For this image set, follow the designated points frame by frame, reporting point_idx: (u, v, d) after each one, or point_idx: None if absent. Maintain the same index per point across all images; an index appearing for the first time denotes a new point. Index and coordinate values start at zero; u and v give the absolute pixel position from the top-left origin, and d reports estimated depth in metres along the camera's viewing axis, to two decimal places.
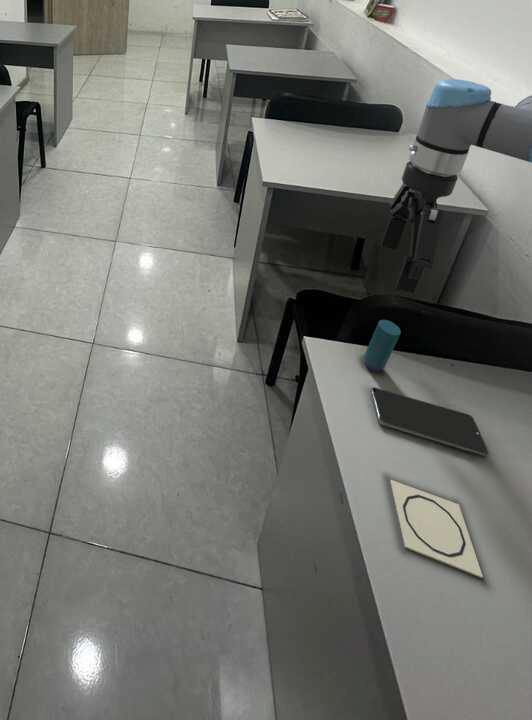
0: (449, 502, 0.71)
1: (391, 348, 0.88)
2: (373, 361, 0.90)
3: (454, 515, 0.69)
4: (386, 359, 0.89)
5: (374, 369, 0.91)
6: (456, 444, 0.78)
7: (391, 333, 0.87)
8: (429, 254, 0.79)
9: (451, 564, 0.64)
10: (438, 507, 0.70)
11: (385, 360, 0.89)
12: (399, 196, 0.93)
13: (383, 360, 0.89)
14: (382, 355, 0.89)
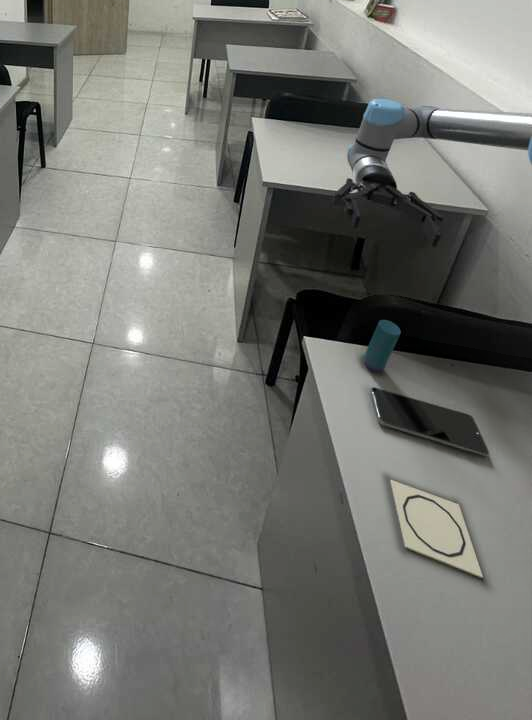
0: (449, 502, 0.71)
1: (391, 348, 0.88)
2: (373, 361, 0.90)
3: (454, 515, 0.69)
4: (386, 359, 0.89)
5: (374, 369, 0.91)
6: (456, 444, 0.78)
7: (391, 333, 0.87)
8: None
9: (451, 564, 0.64)
10: (438, 507, 0.70)
11: (385, 360, 0.89)
12: None
13: (383, 360, 0.89)
14: (382, 355, 0.89)
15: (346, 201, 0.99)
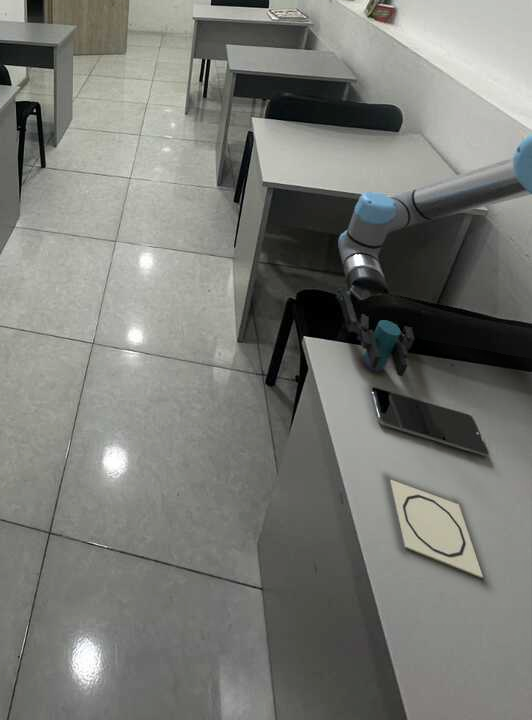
0: (449, 502, 0.71)
1: (391, 348, 0.88)
2: None
3: (454, 515, 0.69)
4: (386, 359, 0.89)
5: (374, 369, 0.91)
6: (456, 444, 0.78)
7: (391, 333, 0.87)
8: (348, 316, 0.95)
9: (451, 564, 0.64)
10: (438, 507, 0.70)
11: (385, 360, 0.89)
12: None
13: (383, 360, 0.89)
14: (382, 355, 0.89)
15: (363, 331, 0.91)
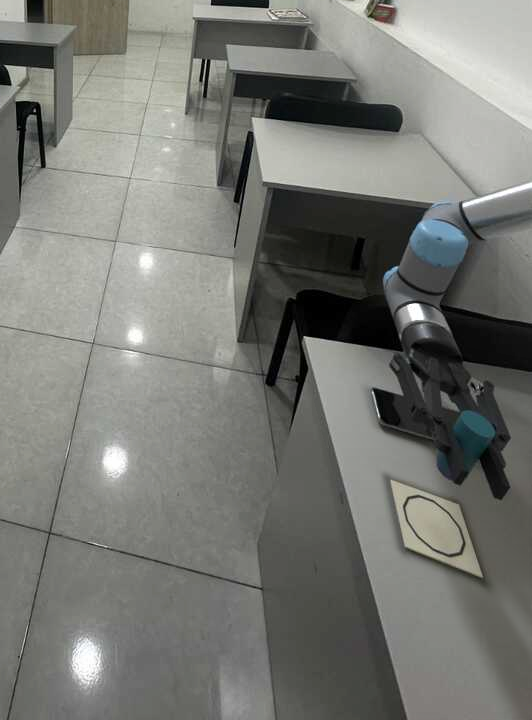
0: (449, 502, 0.71)
1: (480, 454, 0.62)
2: None
3: (454, 515, 0.69)
4: (471, 467, 0.63)
5: None
6: None
7: (482, 435, 0.60)
8: (412, 399, 0.68)
9: (451, 564, 0.64)
10: (438, 507, 0.70)
11: (470, 468, 0.63)
12: None
13: None
14: (466, 462, 0.62)
15: (436, 425, 0.65)
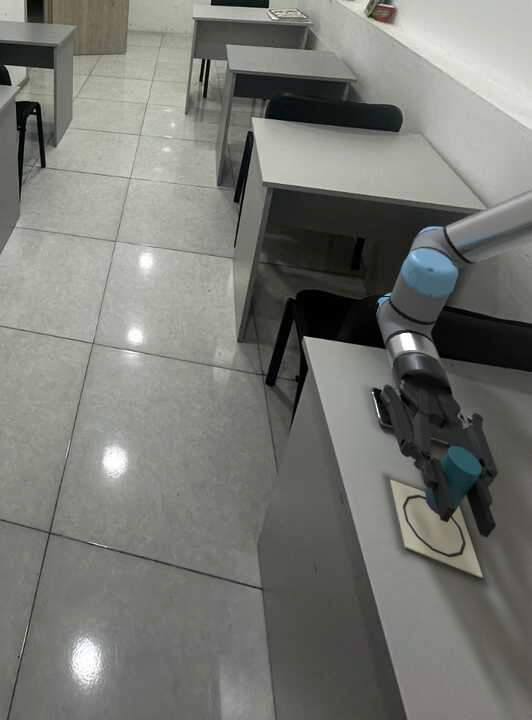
0: None
1: (467, 490, 0.63)
2: None
3: (454, 515, 0.69)
4: (459, 503, 0.64)
5: None
6: None
7: (469, 472, 0.61)
8: (401, 433, 0.69)
9: (451, 564, 0.64)
10: None
11: (457, 504, 0.64)
12: (471, 449, 0.69)
13: (454, 504, 0.64)
14: (453, 497, 0.63)
15: (424, 459, 0.66)
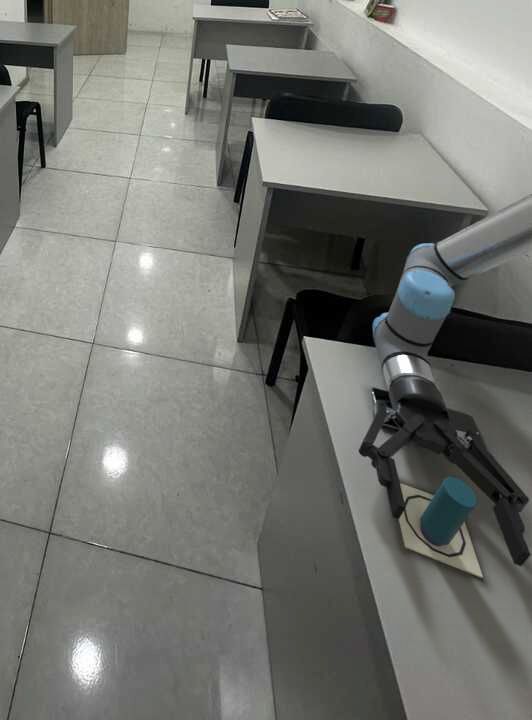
0: None
1: (462, 522, 0.62)
2: (435, 534, 0.64)
3: None
4: (454, 534, 0.64)
5: (436, 543, 0.65)
6: None
7: (464, 504, 0.61)
8: None
9: (451, 564, 0.64)
10: None
11: (452, 535, 0.64)
12: None
13: (449, 536, 0.64)
14: (448, 529, 0.63)
15: (380, 459, 0.69)
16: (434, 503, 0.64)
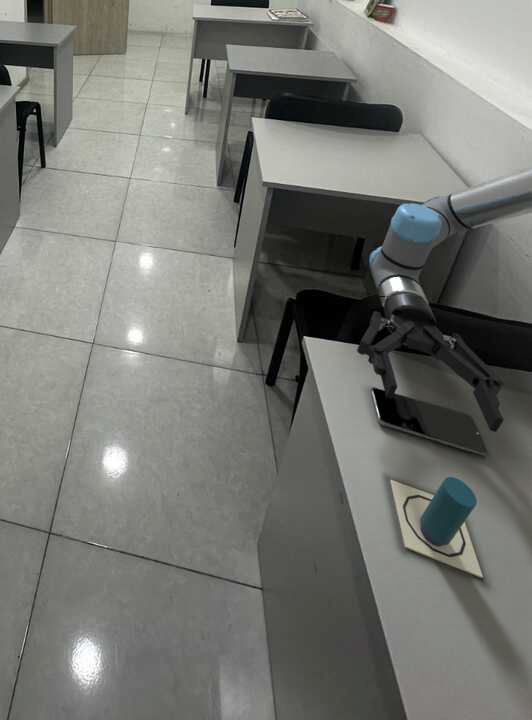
0: None
1: (462, 522, 0.62)
2: (435, 534, 0.64)
3: None
4: (454, 534, 0.64)
5: (436, 543, 0.65)
6: (456, 444, 0.78)
7: (464, 504, 0.61)
8: (363, 337, 0.82)
9: (451, 564, 0.64)
10: None
11: (452, 535, 0.64)
12: None
13: (449, 536, 0.64)
14: (448, 529, 0.63)
15: (376, 354, 0.79)
16: (434, 503, 0.64)
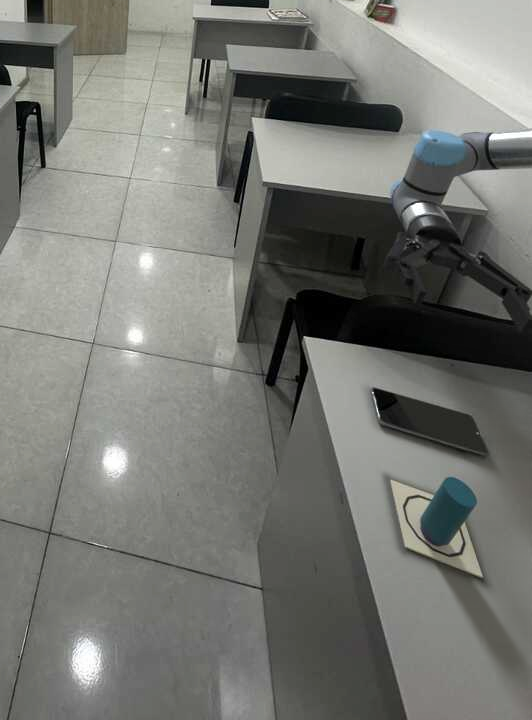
0: None
1: (462, 522, 0.62)
2: (435, 534, 0.64)
3: None
4: (454, 534, 0.64)
5: (436, 543, 0.65)
6: (456, 444, 0.78)
7: (464, 504, 0.61)
8: None
9: (451, 564, 0.64)
10: None
11: (452, 535, 0.64)
12: None
13: (449, 536, 0.64)
14: (448, 529, 0.63)
15: (402, 267, 0.78)
16: (434, 503, 0.64)
